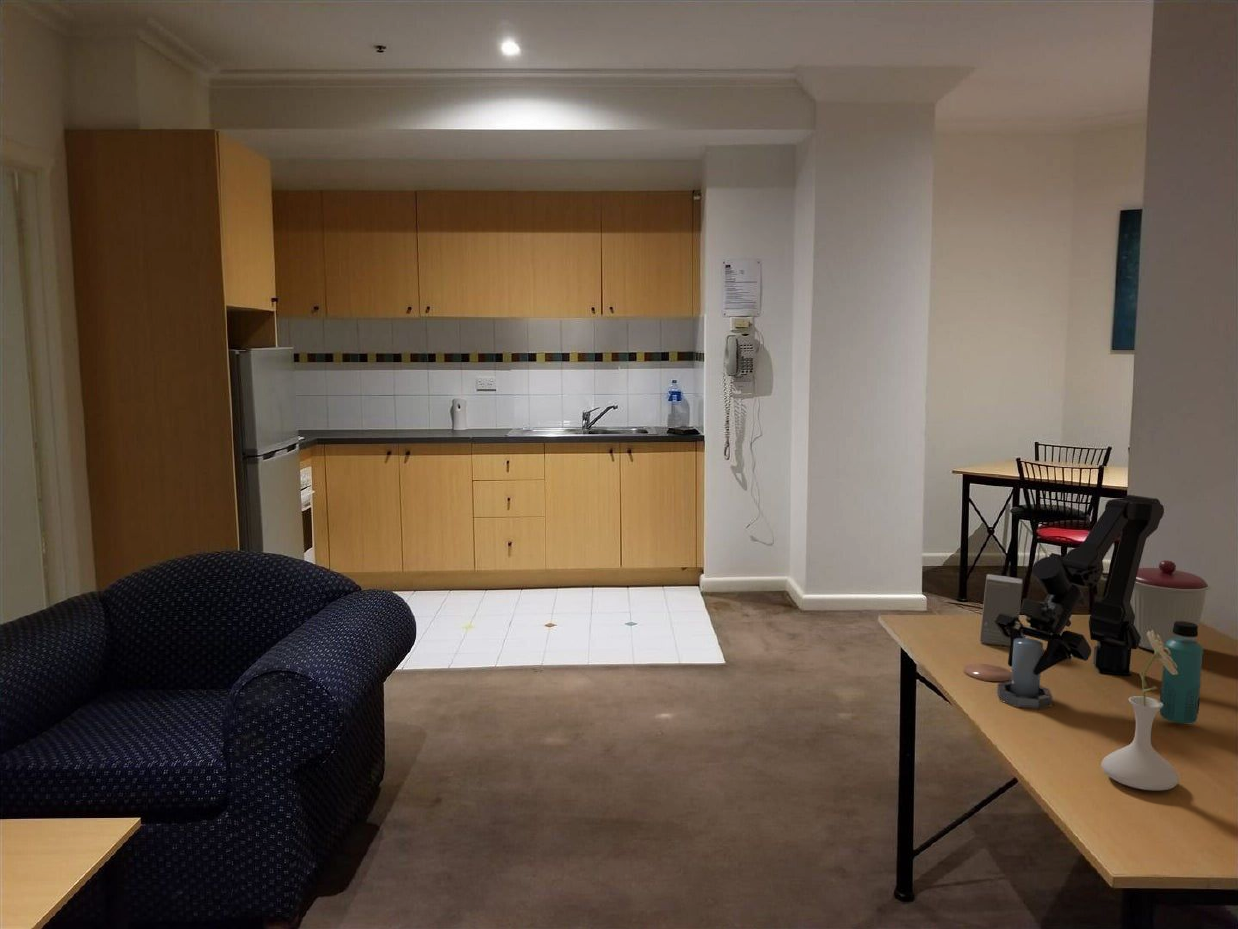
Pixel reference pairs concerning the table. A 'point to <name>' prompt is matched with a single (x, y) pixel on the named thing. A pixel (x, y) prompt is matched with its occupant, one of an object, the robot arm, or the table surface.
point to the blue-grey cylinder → (1025, 667)
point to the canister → (1166, 601)
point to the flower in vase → (1144, 738)
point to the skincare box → (999, 606)
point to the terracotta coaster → (987, 672)
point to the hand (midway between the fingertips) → (1022, 669)
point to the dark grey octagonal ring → (1024, 697)
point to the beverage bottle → (1182, 676)
